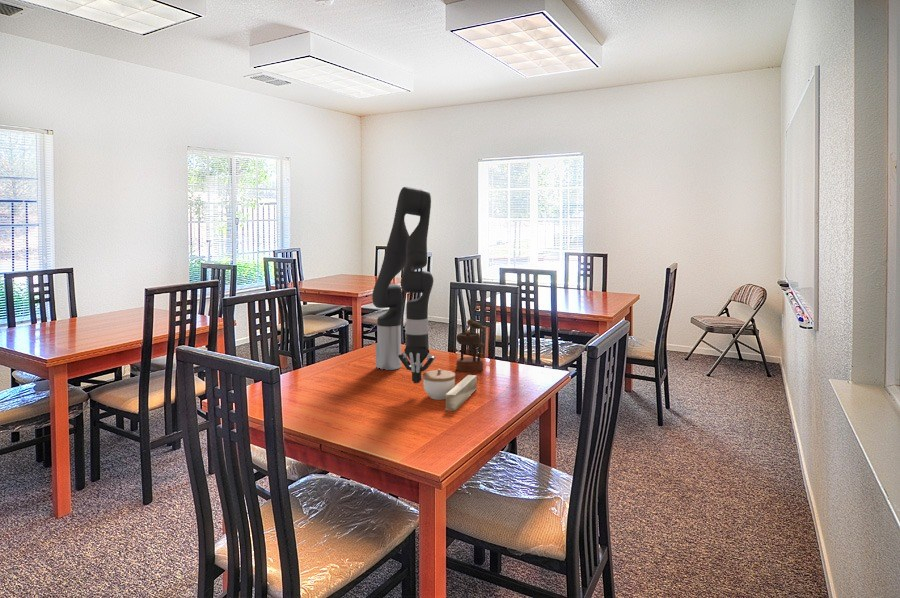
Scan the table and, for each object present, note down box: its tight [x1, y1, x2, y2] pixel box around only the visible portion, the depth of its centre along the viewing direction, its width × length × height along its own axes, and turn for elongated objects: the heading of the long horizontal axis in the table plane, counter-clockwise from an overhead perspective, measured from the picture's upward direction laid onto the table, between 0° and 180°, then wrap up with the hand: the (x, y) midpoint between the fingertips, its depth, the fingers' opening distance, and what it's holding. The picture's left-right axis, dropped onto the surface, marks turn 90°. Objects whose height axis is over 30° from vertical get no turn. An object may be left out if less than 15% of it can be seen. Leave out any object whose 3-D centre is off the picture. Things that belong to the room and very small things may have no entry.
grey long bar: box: [445, 374, 478, 412], centre depth 188 cm, size 3×24×5 cm, turn 162°
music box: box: [448, 319, 488, 373], centre depth 225 cm, size 15×11×20 cm
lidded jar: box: [422, 368, 456, 401], centre depth 190 cm, size 11×11×9 cm
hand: (416, 382), depth 192 cm, fingers closed
